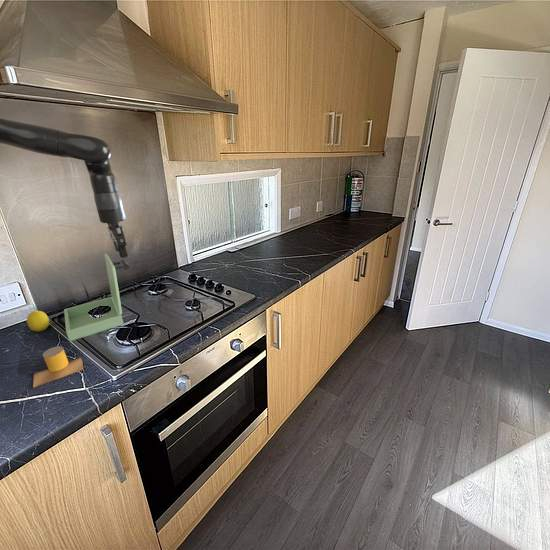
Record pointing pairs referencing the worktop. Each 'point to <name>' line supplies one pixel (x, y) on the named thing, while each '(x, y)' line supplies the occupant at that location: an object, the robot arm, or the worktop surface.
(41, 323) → the lemon
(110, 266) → the lid
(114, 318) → the box
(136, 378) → the worktop surface
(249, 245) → the worktop surface
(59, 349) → the pod
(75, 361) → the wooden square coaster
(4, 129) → the robot arm
